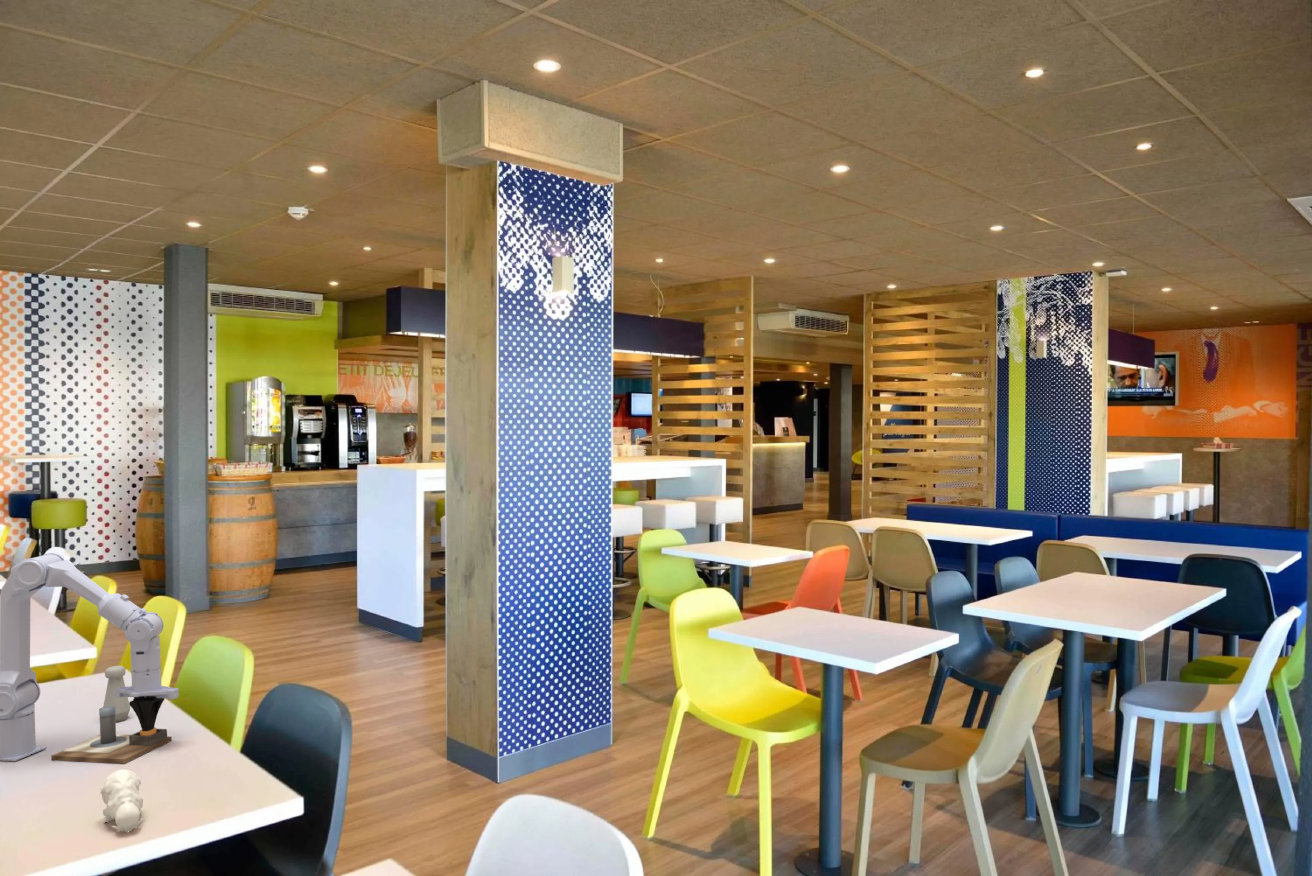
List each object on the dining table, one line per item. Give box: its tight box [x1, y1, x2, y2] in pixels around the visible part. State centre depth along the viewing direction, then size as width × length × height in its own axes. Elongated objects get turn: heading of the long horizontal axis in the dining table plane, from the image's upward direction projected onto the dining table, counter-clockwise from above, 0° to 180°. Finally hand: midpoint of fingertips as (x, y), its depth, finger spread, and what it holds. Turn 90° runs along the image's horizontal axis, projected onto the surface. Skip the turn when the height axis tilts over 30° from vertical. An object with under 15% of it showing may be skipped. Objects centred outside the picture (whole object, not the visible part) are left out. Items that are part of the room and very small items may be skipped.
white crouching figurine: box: [100, 769, 144, 833], centre depth 161 cm, size 6×8×12 cm
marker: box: [98, 706, 117, 744], centre depth 202 cm, size 3×3×8 cm
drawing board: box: [50, 728, 173, 765], centre depth 200 cm, size 18×14×3 cm
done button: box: [139, 726, 157, 736], centre depth 202 cm, size 3×3×2 cm
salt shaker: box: [103, 665, 131, 723], centre depth 221 cm, size 6×6×13 cm
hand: (148, 729), depth 202 cm, fingers closed, pressing on done button
